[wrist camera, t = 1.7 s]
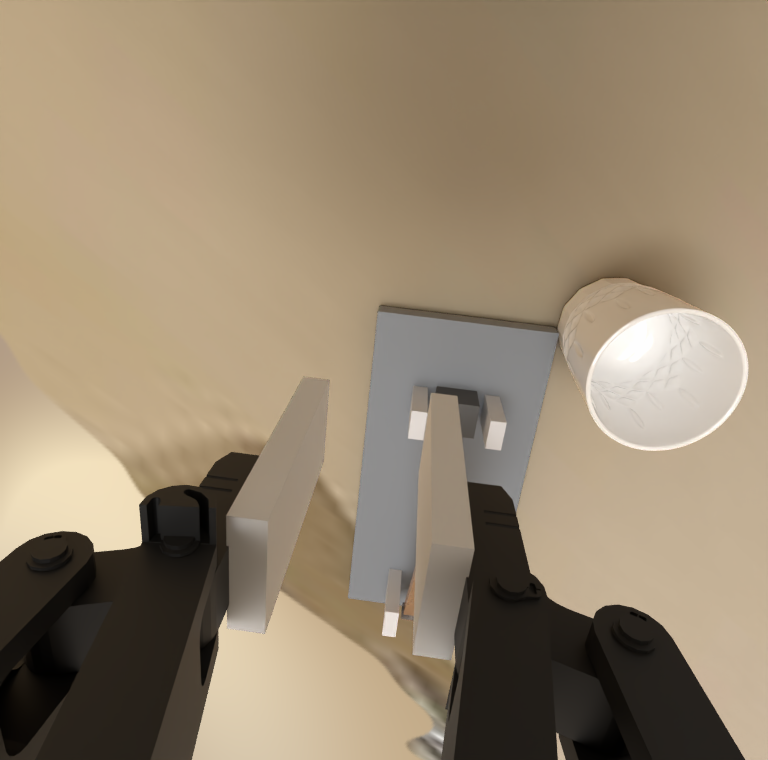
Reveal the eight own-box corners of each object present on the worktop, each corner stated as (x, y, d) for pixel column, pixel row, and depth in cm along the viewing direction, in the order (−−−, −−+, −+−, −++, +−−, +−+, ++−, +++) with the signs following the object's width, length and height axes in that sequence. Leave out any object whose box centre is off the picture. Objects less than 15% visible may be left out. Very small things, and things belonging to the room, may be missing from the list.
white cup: (693, 297, 36) (783, 348, 27) (626, 396, 39) (686, 472, 30) (587, 247, 35) (642, 282, 26) (526, 352, 38) (557, 416, 29)
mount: (379, 305, 38) (371, 331, 32) (554, 326, 38) (576, 357, 32) (350, 585, 48) (340, 642, 42) (488, 604, 47) (496, 664, 42)
